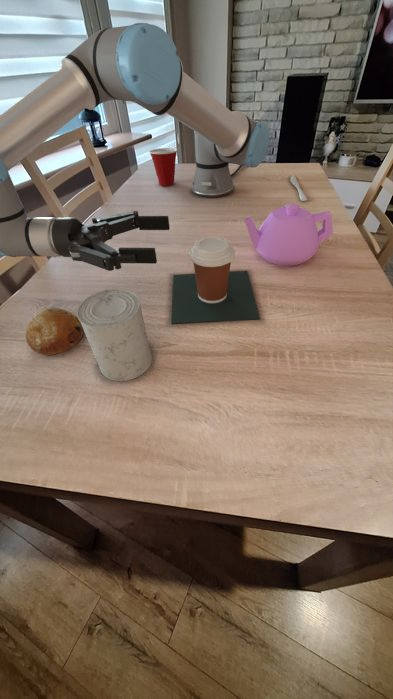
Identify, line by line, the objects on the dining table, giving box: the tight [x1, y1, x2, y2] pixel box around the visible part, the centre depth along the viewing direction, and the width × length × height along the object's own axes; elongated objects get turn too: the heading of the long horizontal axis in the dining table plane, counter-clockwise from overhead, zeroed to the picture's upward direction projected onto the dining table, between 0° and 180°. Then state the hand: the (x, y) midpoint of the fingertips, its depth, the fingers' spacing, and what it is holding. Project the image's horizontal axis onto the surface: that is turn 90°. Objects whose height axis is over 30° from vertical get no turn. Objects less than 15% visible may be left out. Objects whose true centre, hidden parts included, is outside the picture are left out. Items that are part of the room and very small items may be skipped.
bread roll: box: [25, 306, 84, 356], centre depth 58 cm, size 10×10×8 cm
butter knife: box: [289, 175, 308, 202], centre depth 111 cm, size 1×27×3 cm
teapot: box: [243, 202, 334, 267], centre depth 74 cm, size 22×16×12 cm
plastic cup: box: [148, 147, 178, 187], centre depth 117 cm, size 11×11×12 cm
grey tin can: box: [76, 288, 153, 382], centre depth 50 cm, size 10×10×12 cm
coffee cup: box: [188, 235, 236, 303], centre depth 63 cm, size 9×9×12 cm
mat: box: [170, 270, 261, 325], centre depth 67 cm, size 18×18×1 cm
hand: (162, 238), depth 59 cm, fingers open, 13 cm apart
